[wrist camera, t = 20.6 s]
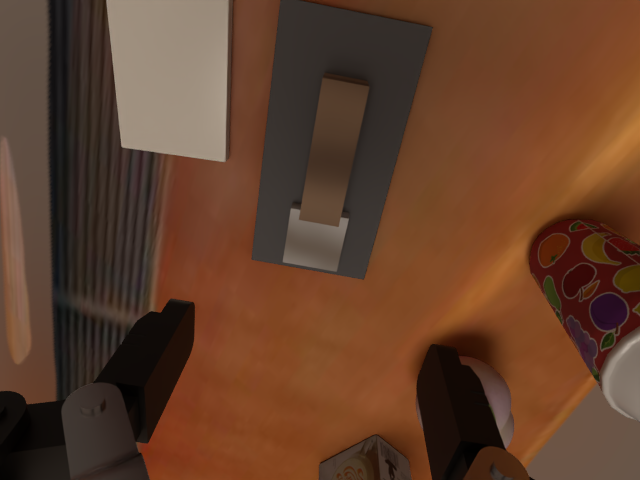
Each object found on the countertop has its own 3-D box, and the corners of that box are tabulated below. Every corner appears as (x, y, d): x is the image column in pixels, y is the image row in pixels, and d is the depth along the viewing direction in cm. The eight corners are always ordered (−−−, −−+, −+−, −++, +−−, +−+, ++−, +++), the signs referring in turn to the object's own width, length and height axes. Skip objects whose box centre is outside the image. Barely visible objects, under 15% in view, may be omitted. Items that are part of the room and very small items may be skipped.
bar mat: (430, 27, 27) (432, 27, 26) (363, 274, 36) (363, 279, 36) (282, -3, 27) (281, -4, 26) (253, 254, 36) (251, 259, 35)
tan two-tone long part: (313, 70, 28) (310, 75, 25) (378, 83, 28) (382, 89, 26) (284, 254, 35) (279, 273, 32) (336, 264, 35) (336, 283, 33)
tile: (228, -4, 26) (225, 162, 31) (234, -2, 27) (230, 156, 33) (104, -22, 26) (121, 147, 31) (116, -20, 27) (131, 141, 32)
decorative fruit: (400, 339, 40) (416, 429, 31) (486, 323, 38) (529, 413, 30) (417, 404, 44) (436, 500, 35) (496, 392, 42) (536, 489, 34)
